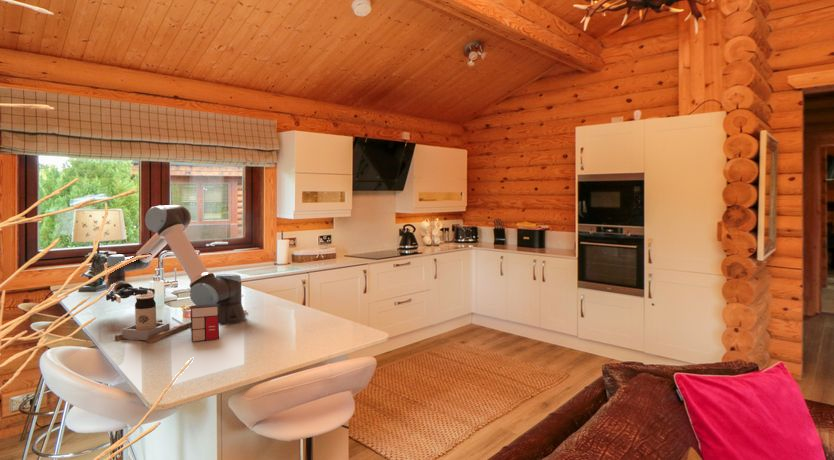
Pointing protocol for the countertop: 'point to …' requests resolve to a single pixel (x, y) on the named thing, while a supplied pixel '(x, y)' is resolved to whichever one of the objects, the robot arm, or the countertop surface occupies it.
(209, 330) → the cream and red box
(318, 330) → the countertop surface
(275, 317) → the countertop surface
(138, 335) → the square tray
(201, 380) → the countertop surface
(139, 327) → the travel mug
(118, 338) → the switch track
